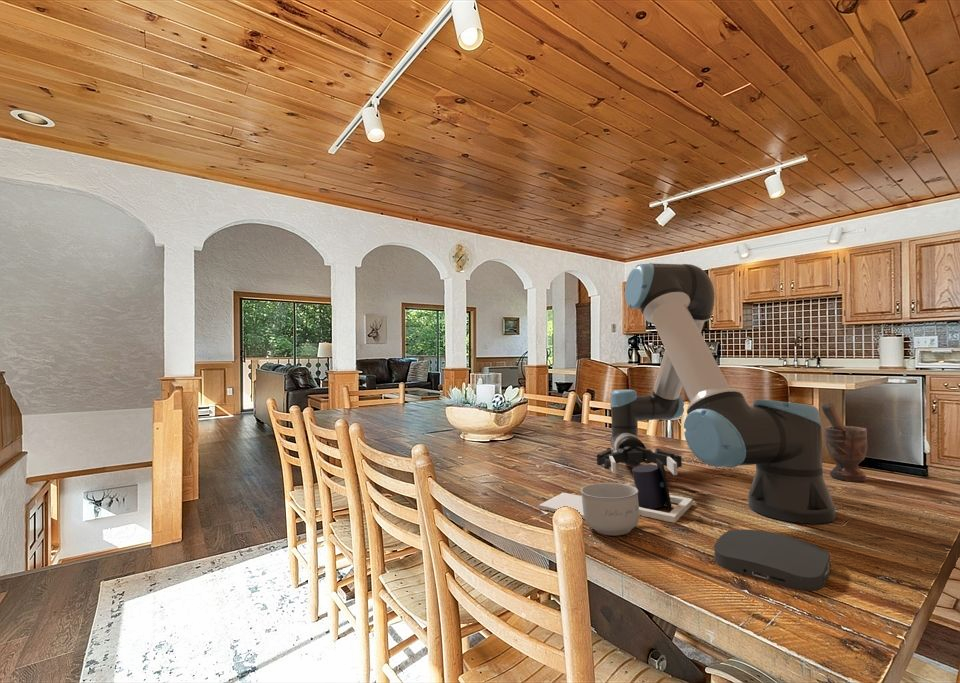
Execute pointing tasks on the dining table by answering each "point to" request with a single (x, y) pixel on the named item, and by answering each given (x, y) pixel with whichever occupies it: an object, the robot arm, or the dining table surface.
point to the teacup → (611, 507)
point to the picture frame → (674, 514)
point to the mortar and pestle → (845, 446)
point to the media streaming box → (774, 558)
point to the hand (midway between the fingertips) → (644, 468)
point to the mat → (564, 502)
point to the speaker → (652, 486)
